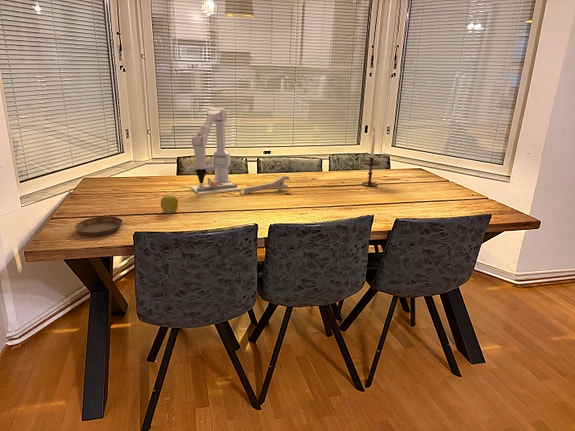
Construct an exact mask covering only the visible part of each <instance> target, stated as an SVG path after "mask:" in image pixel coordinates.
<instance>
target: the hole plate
mask: <svg viewBox="0 0 575 431" xmlns="http://www.w3.org/2000/svg"><path fill="white" fill-rule="evenodd" d="M233 184H234V183H232V181H230V182H221V183H218V186H223V185H233ZM203 185H204V186H205V187H211V186H210V185H208V183H207V184H203ZM189 188H190V189H191V190H192V191H193V192H194V193H196V194H197V195H198V196H201V195H213V194H219V193H229V192H237V191H239V190H240V189H241V188H240V187H238V186H237V187H236V188H227V189H218V190H209V191H200V192H197V188H200V185H199V184H197V185H190V186H189Z"/></svg>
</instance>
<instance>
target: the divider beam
mask: <svg viewBox="0 0 575 431" xmlns="http://www.w3.org/2000/svg"><path fill="white" fill-rule="evenodd" d="M232 184H233V185H223V186H218V187H213V188H212V187H205V186H204V185H205V184H203V183H201V184H200V183H199V184H198V185H200V188H197V192H200V191H209V190H218V189H227V188H236V187H238V184H236V183H232Z"/></svg>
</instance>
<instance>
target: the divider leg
mask: <svg viewBox="0 0 575 431" xmlns="http://www.w3.org/2000/svg"><path fill="white" fill-rule="evenodd" d="M207 184H208V185H210V186H211V187H212V188H213V187H218V182H217V181H216V180H214V179H212V178H210V177H207Z"/></svg>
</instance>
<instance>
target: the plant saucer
mask: <svg viewBox="0 0 575 431" xmlns="http://www.w3.org/2000/svg"><path fill="white" fill-rule="evenodd" d="M123 223H124V222H123V219H121V218H120V217H118V216H108V215H107V216H105V215H104V216H96V217H90V218H87V219H84V220H82V221H80V222H78V223H77V224H76V225H75V230H77V231H78V233H80V234H82V235H83V236H87V237H101V236H107V235H110V234H113V233H115V232H117V231H118V230H119V229H120V228H121V226H122V224H123Z"/></svg>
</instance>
